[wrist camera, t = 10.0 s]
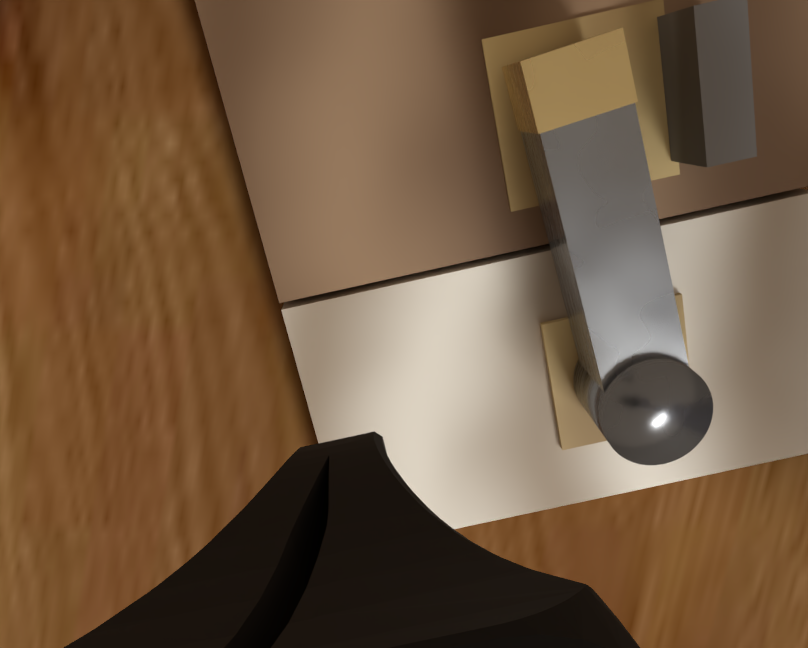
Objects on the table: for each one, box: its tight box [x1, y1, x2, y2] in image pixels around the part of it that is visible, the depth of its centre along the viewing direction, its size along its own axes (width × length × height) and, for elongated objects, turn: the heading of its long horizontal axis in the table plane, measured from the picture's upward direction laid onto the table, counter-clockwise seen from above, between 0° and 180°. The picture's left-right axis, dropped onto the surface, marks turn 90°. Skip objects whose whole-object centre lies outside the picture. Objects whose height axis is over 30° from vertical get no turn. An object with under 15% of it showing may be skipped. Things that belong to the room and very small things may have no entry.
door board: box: [195, 0, 808, 529], centre depth 19 cm, size 15×17×3 cm
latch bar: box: [502, 28, 713, 465], centre depth 18 cm, size 10×3×3 cm, turn 17°
